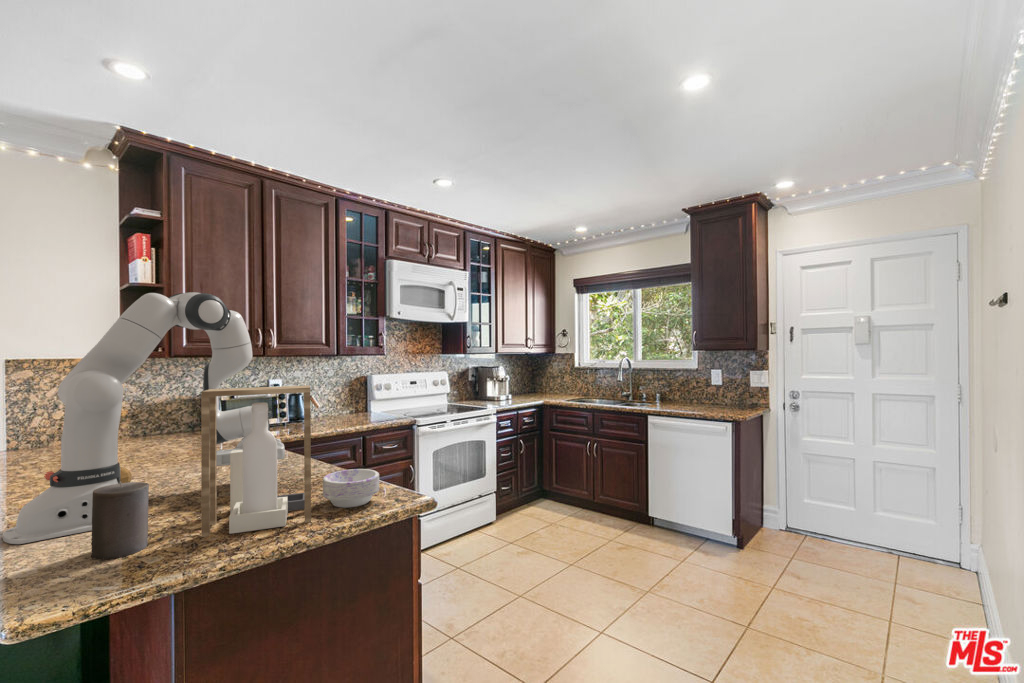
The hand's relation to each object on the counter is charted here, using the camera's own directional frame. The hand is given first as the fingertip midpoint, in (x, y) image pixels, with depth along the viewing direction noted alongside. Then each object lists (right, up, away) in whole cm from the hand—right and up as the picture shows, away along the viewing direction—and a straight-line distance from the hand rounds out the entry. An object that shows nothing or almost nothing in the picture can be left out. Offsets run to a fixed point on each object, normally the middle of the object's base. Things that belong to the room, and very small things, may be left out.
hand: (245, 460), depth 139 cm
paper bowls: (+32, -11, -3) cm, 34 cm away
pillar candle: (-8, -11, -35) cm, 37 cm away
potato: (-50, -13, +13) cm, 53 cm away
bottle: (+14, -11, -19) cm, 26 cm away
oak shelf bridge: (+14, -11, -19) cm, 26 cm away
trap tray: (+13, -11, -7) cm, 19 cm away
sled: (+11, -11, -15) cm, 22 cm away
